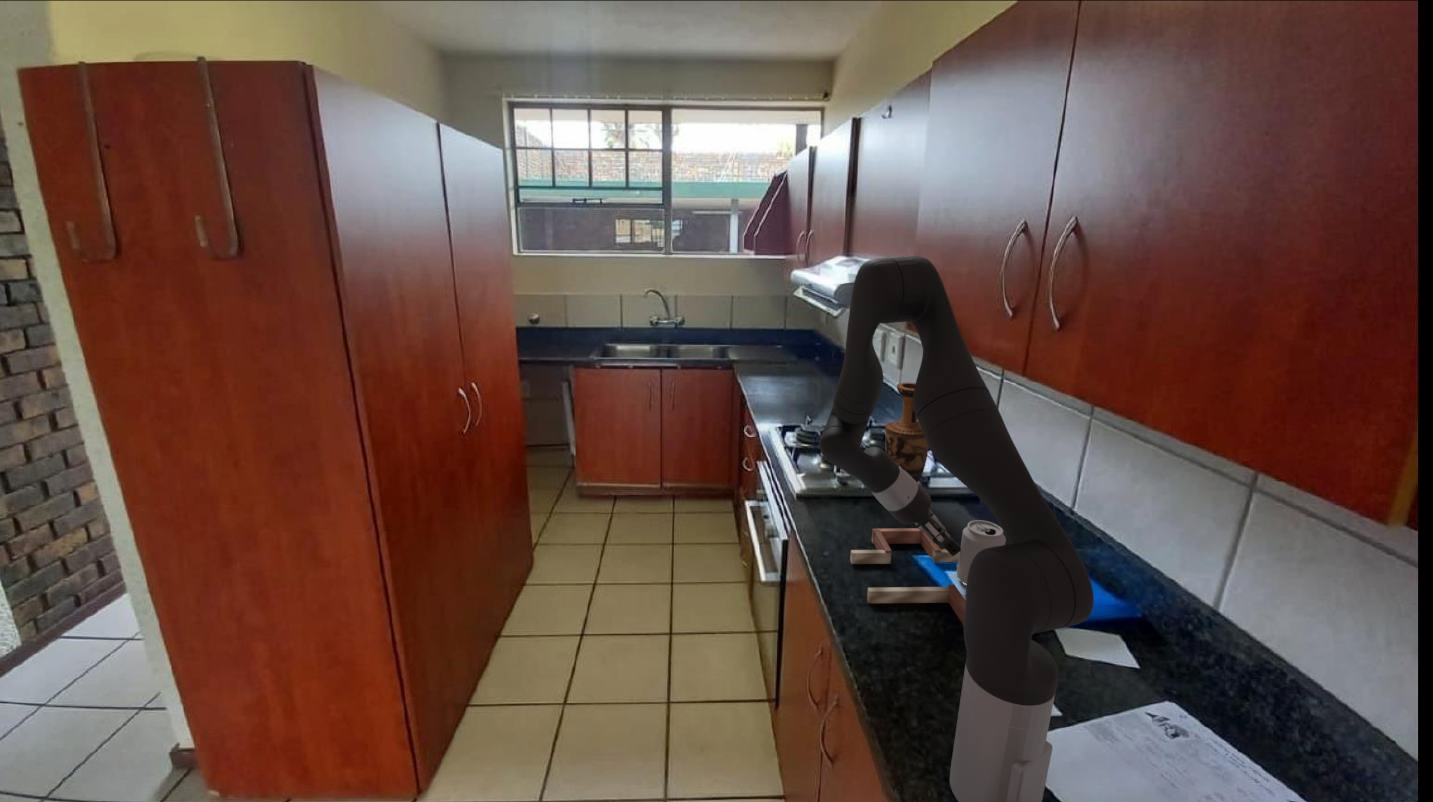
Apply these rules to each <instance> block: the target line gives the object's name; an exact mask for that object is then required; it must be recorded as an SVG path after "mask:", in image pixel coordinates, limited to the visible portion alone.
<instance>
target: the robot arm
mask: <svg viewBox="0 0 1433 802" xmlns="http://www.w3.org/2000/svg"><path fill="white" fill-rule="evenodd" d="M852 286H853V287H852V291H851V297H850V298H851V299H850V305H849V314H848V320H847V321H848V323H847V330H846V339H845V350H844V356H843V357H844V358H843V363H842V364H843V365H842V369H841V373H840V375H839V380H838V383H837V386H836V388H835V393H834V396H833V400H832V408H831V411H830V413H829V416H828V419H827V421H826V423H825V426H824V427H823V431H822V434H821V435H820V438H819V446H818V447H819V450H820V452H821V454H822V455H823V457H824V459H825V460H826V461H828V462H829V463H830V464H832V465H834V466H835V467H837V468H838V469H840V470H842V471H844V472H846V473H847V474H848V475H851V476H853V477H855V478H857V479H858V480H859V481H860V482H861V483H862V485H864V486H865V487H866V488H867V490H869V491H870V493H872V495H873V496H874V498H875V499H876V500H877V501H878V502H879V504H881V505H882V506H883V507H884V508H885V509H886V510H887V511H888V512H889V513H890V515H892V517H893V518H895V520H897V522H899V523H900V524H902V525H907V526H908V525H913V524H915V526H916V528H918V529H919V530H920V531H921V532H922V533H925V534H926V535H927V536H928V537H929V538H930V539H931V540H933V542H934V543H936V544H937V545H938V546H939V548H940V549H946V550H947V551H948V552H949V553H950V554H951V555H952V556H955V555H956V554H957V553H958V552H960V551H961V548H960V547H961V546H959V544H958V543H957V542H956V541H955V540H954V539H953V537H951V535H950V534H949V533H948V532H947V529H946V527H945V526H944V525H943V524H942V523H941V521H940V520H939V518H938V517H937V516H936V515H935V513H934V512H933V511H932V510H931V507H932V498H931V496H930V494H928V492H927V491H926V490H925V489H924V488H923V487H922V486H921V485H920V484H919V482H918V483H917V482H916V481H915V480H914V479H913V478H912V477H911V476H910V475H909V474H908V473H907V472H906V471H905V470H903V469H902V468H901V467H900V466H898V464H897V463H896V462H895V461H894V460H893V459H892V458H891V457H890V456H889V455H888V454H887V453H886V452H885V450H884V449H882V448H880V447H878V446H870V447H868V448H866V449H864V450H863V449H862V447H861V445H862V442H863V439H864V435H865V433H866V431H867V430H866V429H867V427H868V425H869V421H870V417H871V416H872V414H873V412H874V410H875V408H876V405H877V402H878V400H879V397H880V394H881V392H882V390H883V387H884V385H883V383H884V370H883V367H882V364H881V361H880V359H879V357H878V355H877V352H876V350H875V347H874V342H873V341H874V336H875V333H876V331H877V329H878V327H879V325H880V324H892V323H904V322H905V323H907V322H908V323H909V322H910V323H911V324H912V325H913V326H914V328H915V330H916V332H917V334H918V337H919V340H920V343H921V346H922V357H921V362H920V367H919V369H918V374H917V378H916V380H915V383H916V384H915V389H914V394H913V407H914V411H915V414H916V417H917V421H918V422H919V424H920V427H921V429H922V432H923V434H924V437H925V439H926V441H927V444H928V446H929V450H930V451H931V453H932V455H933V456H934V458H935V459H936V460H937V461H938V462H939V463H940V464H941V465H942V466H943V467H944V468H945V469H946V470H947V471H948V472H949V473H950V474H952V475H953V476H954V477H955V478H956V479H957V480H959V481H960V482H961V483H962V484H963V485H964V486H965V487H967V488H968V489H969V490H970V491H971V492H973V494H975V495H976V496H977V497H978V498H979V499H980V500H981V501H982V502H983V503H984V504H985V505H986V507H988V509H989V510H990V511H991V512H992V514H993V515H994V517H995V518H996V521H997V522H998V523H999V524H998V525H999V526H1000V527H1001V528H1002V529H1003V534H1004V536H1005V538H1006V540H1008V543H1009V544H1005V545H1003V546H996V547H991V548H986V549H983V550H981V551H980V552H978V553H977V555H976V556H975V557H974V559H973V561H972V563H971V565H970V569H969V572H968V578H967V586H966V587H965V588H966V593H965V600H966V604H965V617H964V627H963V639H964V645H965V650H966V661H965V665H964V673H963V679H962V685H961V686H962V687H961V693H960V701H959V709H958V715H957V721H956V722H957V723H956V728H955V735H954V736H955V737H954V742H953V749H952V757H951V762H950V773H949V786H950V789H951V791H952V794H953V795H954V797H955V799H956V800H957V802H1043V797H1044V793H1045V788H1046V783H1047V779H1048V772H1049V767H1050V763H1051V759H1052V754H1053V753H1052V752H1053V744H1051V743H1050V742H1048V741H1047V737H1048V733H1049V728H1050V722H1051V718H1052V717H1051V716H1052V712H1053V706H1054V702H1055V701H1054V700H1055V698H1056V697H1055V696H1056V692H1057V689H1058V688H1057V687H1058V683H1059V668H1058V663H1057V662H1056V660H1055V659H1054V657H1053V656H1052V654H1050V652H1049V651H1048V650H1047V649H1046V648H1045V647H1043V646H1042V645H1041V644H1040V643H1038V642H1037V641H1035V640H1034V639H1032V637H1033V635H1034V634H1038V633H1044V632H1048V631H1053V630H1058V629H1061V628H1063V629H1064V628H1067V627H1068V628H1069V627H1072V626H1076V625H1078V624H1081V623H1083V622H1085V621H1086V620H1087V619H1088V618H1089V617H1090V616H1091V614H1092V613H1093V608H1094V604H1095V596H1094V595H1095V594H1094V589H1093V584H1092V582H1091V578H1090V576H1089V573H1088V570H1087V568H1086V566H1085V564H1084V562H1083V560H1082V558H1081V556H1080V554H1079V553H1078V551H1077V549H1076V547H1075V546H1074V545H1073V543H1072V541H1071V539H1070V537H1069V536H1068V535H1067V533H1066V532H1065V530H1064V528H1063V527H1062V525H1061V523H1060V522H1059V520H1058V519H1057V517H1056V516H1055V514H1054V513H1053V511H1052V509H1051V508H1050V506H1049V505H1048V502H1047V501H1046V500H1045V498H1044V496H1043V495H1042V493H1041V491H1040V489H1039V488H1038V485H1036V483H1035V481H1034V479H1033V477H1032V475H1031V474H1030V471H1029V469H1028V467H1027V466H1026V464H1025V462H1024V460H1023V458H1022V456H1021V454H1020V453H1019V450H1018V449H1017V447H1016V445H1015V443H1014V441H1013V438H1012V437H1011V435H1010V433H1009V431H1008V429H1007V426H1006V423H1005V421H1004V418H1003V417H1002V415H1001V413H1000V410H999V408H998V406H997V404H996V402H995V400H994V397H993V396H992V394H991V392H990V389H989V388H988V387H987V385H986V383H985V381H984V379H983V377H982V376H981V373H980V371H979V369H978V367H977V365H976V363H975V361H974V359H973V357H972V354H971V352H970V350H969V348H968V346H967V344H966V341H965V340H964V337H963V334H962V332H961V330H960V327H959V325H958V322H957V318H956V316H955V313H954V311H953V307H952V305H951V302H950V299H949V296H948V293H947V291H946V287H945V286H944V283H943V280H942V278H941V276H940V274H939V272H938V269H937V268H936V266H935V265H934V264H933V263H932V262H931V261H930V260H929V259H928V258H926V257H924V256H917V255H912V256H911V255H910V256H893V257H891V256H889V257H876V258H874V259H873V258H871V259H868V260H867V261H865V262H863V264H862V265H860V267H859V269H858V270H857V273H856V275H855V279H854V282H853V285H852Z"/></svg>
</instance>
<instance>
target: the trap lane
mask: <svg viewBox="0 0 1433 802" xmlns="http://www.w3.org/2000/svg"><path fill="white" fill-rule="evenodd" d="M871 543H872V544H873V545H874V546H875V549H851V550H850V556H849V557H850V558H849V559H850V561H849V562H850V563H851V565H877V564H879V565H883V564H886V565H888V564H890V565H891V562H892V561H891V559H892V549H891V547H890V546H889V544H890V545H891V544H920V545H921V547H922V548H923V549H924V551H925V552H926V554H927V556H928V557H929V556H930V557H932V559H933V561H934V562H940V561H941V562H957V561H959V554H960V552H958V553H957V554H956V555H955V556H952V555H951V554H950V553H949V552H948V551H947V550H946V549H945V548H941V547H940V546H938V545H937V544H936V543H934V542H933V540H931V539H930V538H929V537H928V536H927V535H926V534H925V533H922V532H921V531H920V530H919V529H918V528H917V527H916V528H915V527H914V528H913V527H911V528H906V527H905V528H903V527H902V528H901V527H900V528H899V527H898V528H897V527H896V528H872V529H871ZM930 557H929V558H930ZM933 561H932V562H933ZM866 600H867V603H868V604H928V603H929V604H931V603H932V604H935V603H936V604H937V603H938V604H939V603H940V604H942V603H946V604H947V603H948V604H949V605H950V606H951V608H952V610H953V612H954V613H955V614H956V616H957V617H958V619H959V620H960V622H961V624H962V627H963V628H964V617H965V604H966V598H965V597H964V596H963V594H962V593H961V592H960V591H959V589H958V588H957V586H956V584H954V583H953V584H952V583H951V584H947V586H909V587H908V586H907V587H906V586H903V587H902V586H898V587H893V586H892V587H890V586H889V587H867V593H866Z"/></svg>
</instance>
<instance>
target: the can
mask: <svg viewBox="0 0 1433 802" xmlns="http://www.w3.org/2000/svg"><path fill="white" fill-rule="evenodd" d="M1006 542H1007V537H1006V535H1005V534H1004V531H1003V529H1002V527H1001V525H999V524H996V523H994V522H991V521H988V520H982V519H981V520H980V519H977V520H976V519H975V520H971V521H969V522H967V526H966V527H964V528H963V530H962V534H961V541H960V546H959V547H960V548H961V551H960V554H959V561H958V563H957V569H956V576H957V579H958V578H959V579H960V580H961V581H962V582H964V583H966V584H967V578H968V572H969V569H970V565H971V563H972V561H973V559H974V557H975V556H976V555H977V553H978V552H980V551H981V550H983V549H986V548H991V547H996V546H1003V545H1006ZM959 579H958V580H959ZM960 580H959V581H960ZM961 581H960V582H961ZM962 582H961V583H962Z"/></svg>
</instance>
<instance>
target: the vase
mask: <svg viewBox="0 0 1433 802" xmlns="http://www.w3.org/2000/svg"><path fill="white" fill-rule="evenodd" d="M915 384H916V382H900V383H898V384H896V388H897V392H898V393H899V395H900V396H901V397H902V399H903V402H902V403H903V404H902V413H901V418H900V419H899V420H895V421H890V422H887V423H886V424H885V426H884V427H885V429H884V431H885V439H884V440H885V442H884V443H885V444H884V445H885V448H884V449H885V450H884V451H885V452H886V453H887V454H888V455H889V456H890V457H891V458H892V459H893V460H894V461H895V462H896V463H897V464H898V466H900V467H901V468H902V469H903V470H905V471H906V472H907V473H908V474H909V475H910V476H911V477H912V478H913V479H914V480H915V481H916V482H917V483H918V484H919V482H920V480H921V478H922V475H923V472H924V469H925V467H926V463H927V459H928V454H929V450H930V448H929V446H928V444H927V441H926V439H925V437H924V434H923V432H922V429H921V427H920V424H919V422H918V419H917V417H916V414H915V411H914V407H913V394H914V389H915Z"/></svg>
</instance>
